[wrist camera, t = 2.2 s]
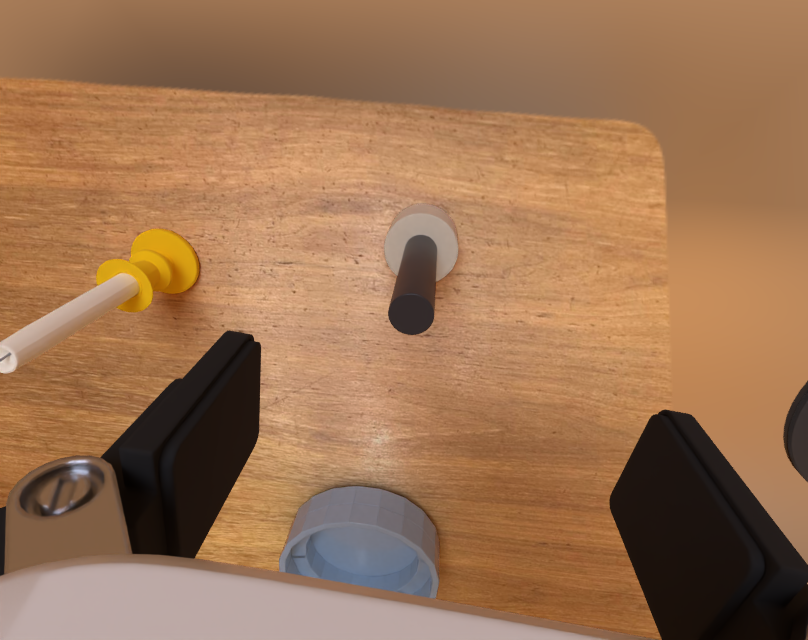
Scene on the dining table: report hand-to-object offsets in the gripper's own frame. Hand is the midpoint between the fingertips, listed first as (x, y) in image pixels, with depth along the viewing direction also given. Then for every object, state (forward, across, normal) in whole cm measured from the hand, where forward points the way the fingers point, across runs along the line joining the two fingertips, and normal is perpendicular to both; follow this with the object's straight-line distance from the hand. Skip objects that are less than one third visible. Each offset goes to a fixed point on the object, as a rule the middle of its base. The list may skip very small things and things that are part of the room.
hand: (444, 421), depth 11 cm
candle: (+24, +20, +8) cm, 33 cm away
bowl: (+24, +1, +35) cm, 42 cm away
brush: (+24, +1, +3) cm, 24 cm away
